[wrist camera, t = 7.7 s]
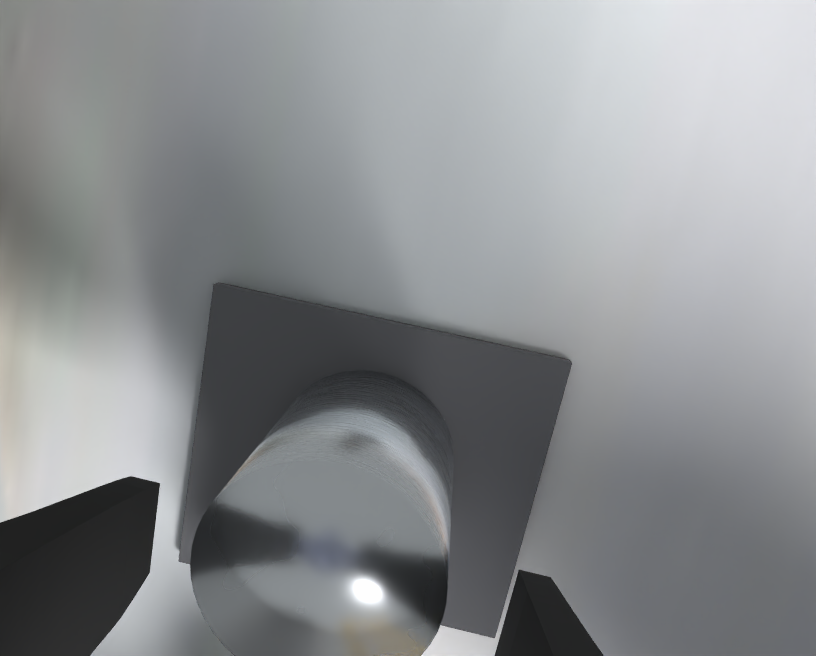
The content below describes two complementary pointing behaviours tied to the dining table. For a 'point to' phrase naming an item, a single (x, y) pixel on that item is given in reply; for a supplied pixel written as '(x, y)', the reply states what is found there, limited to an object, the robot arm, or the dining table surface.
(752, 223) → the dining table surface
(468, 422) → the mat
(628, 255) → the dining table surface
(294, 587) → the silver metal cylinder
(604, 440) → the dining table surface
